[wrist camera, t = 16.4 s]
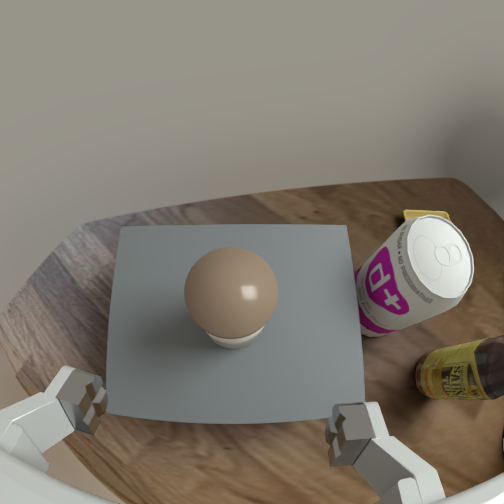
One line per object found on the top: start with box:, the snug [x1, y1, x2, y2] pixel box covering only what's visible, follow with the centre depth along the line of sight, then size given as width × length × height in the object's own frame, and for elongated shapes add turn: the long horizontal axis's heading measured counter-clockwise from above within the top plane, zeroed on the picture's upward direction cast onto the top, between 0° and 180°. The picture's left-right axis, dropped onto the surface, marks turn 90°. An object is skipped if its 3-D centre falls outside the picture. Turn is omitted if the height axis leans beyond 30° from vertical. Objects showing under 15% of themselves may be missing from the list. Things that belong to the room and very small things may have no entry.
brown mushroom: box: [184, 247, 278, 349], centre depth 19 cm, size 5×5×8 cm
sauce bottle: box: [415, 335, 504, 400], centre depth 21 cm, size 6×6×20 cm
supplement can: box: [354, 215, 474, 337], centre depth 26 cm, size 8×8×15 cm
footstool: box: [106, 224, 365, 424], centre depth 27 cm, size 20×16×10 cm
